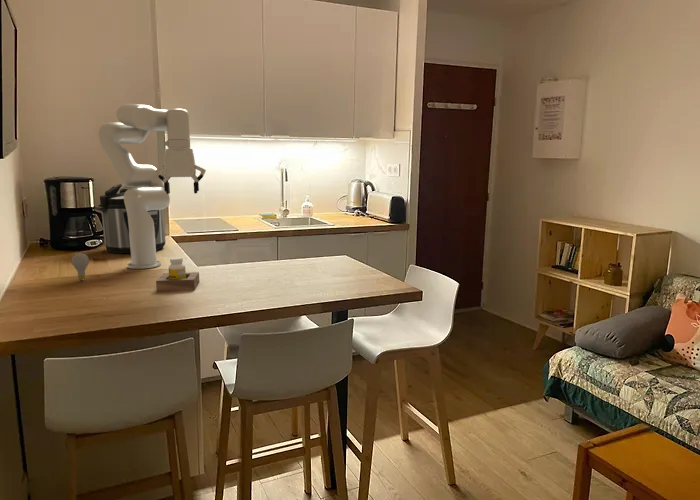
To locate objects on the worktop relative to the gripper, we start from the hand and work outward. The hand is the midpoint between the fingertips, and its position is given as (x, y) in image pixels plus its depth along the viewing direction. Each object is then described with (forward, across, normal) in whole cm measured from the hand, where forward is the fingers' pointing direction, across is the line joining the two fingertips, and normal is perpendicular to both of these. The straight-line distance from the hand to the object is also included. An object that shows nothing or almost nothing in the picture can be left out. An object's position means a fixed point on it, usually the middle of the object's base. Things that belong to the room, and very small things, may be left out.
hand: (182, 193), depth 198 cm
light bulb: (+31, -36, -2) cm, 47 cm away
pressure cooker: (+31, -33, +64) cm, 78 cm away
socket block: (+30, 0, -17) cm, 35 cm away
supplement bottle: (+31, 0, -17) cm, 35 cm away
